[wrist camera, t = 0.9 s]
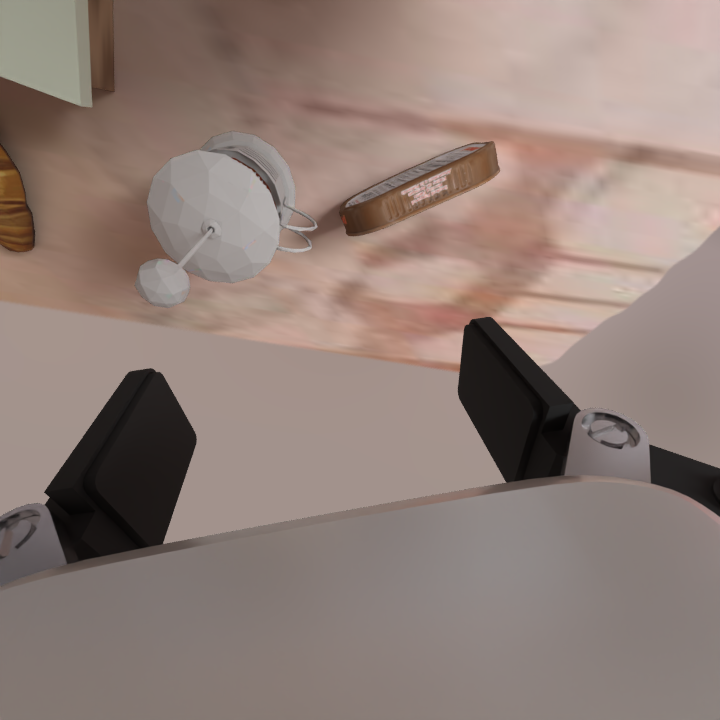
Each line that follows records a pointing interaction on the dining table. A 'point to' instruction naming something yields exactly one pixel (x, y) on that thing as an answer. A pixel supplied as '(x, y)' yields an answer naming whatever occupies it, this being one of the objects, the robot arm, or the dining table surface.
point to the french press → (218, 215)
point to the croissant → (14, 208)
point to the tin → (420, 188)
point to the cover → (47, 47)
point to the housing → (101, 43)
